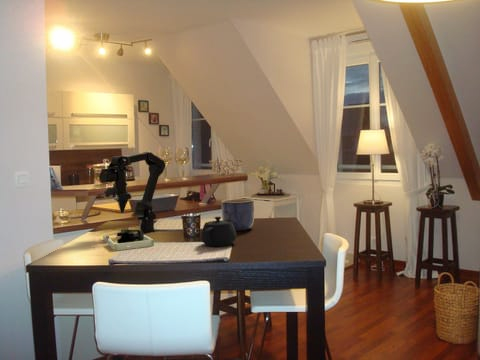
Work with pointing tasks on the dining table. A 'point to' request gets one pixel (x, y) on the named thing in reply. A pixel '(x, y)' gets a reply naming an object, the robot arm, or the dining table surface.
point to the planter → (239, 213)
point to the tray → (131, 244)
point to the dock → (106, 238)
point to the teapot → (218, 233)
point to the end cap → (130, 236)
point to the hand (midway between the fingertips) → (122, 212)
